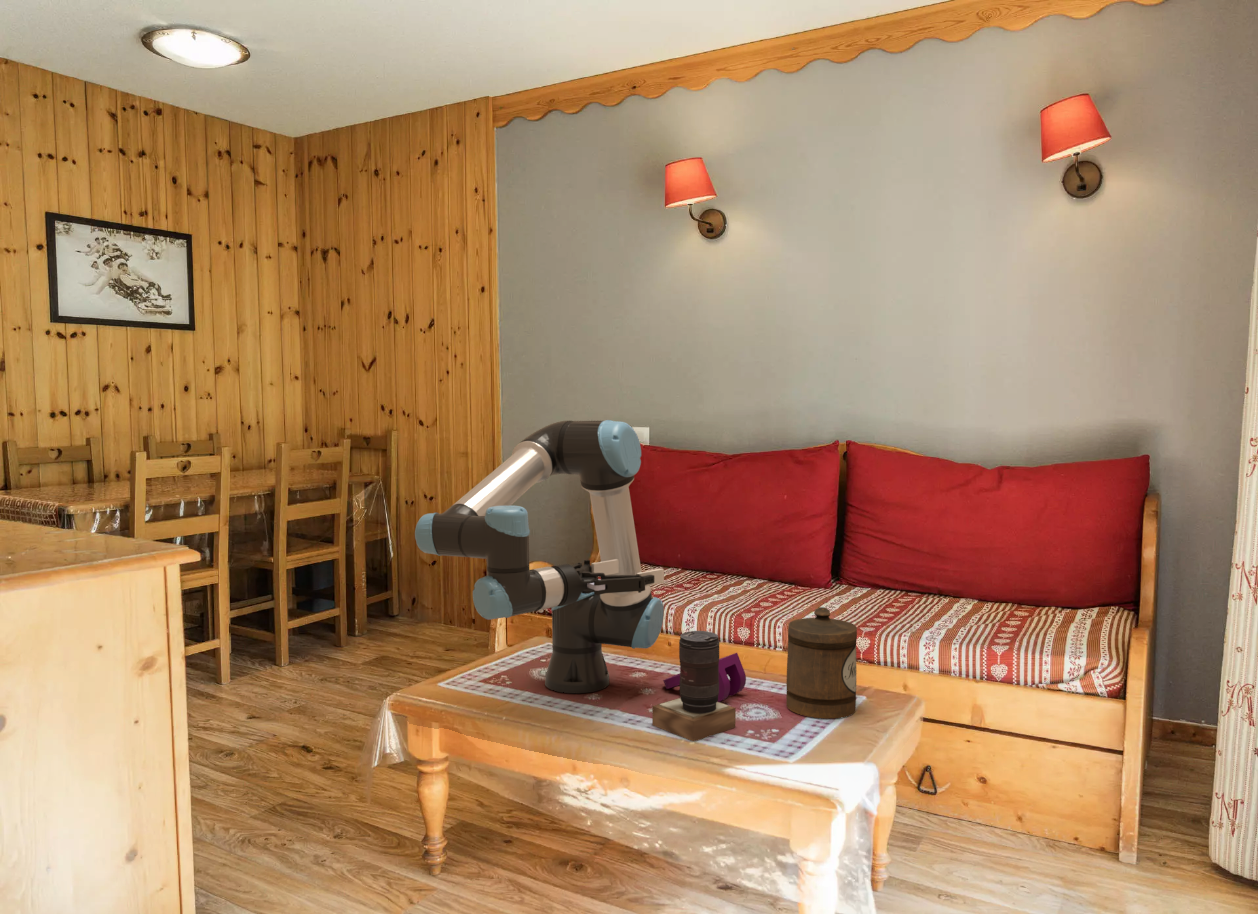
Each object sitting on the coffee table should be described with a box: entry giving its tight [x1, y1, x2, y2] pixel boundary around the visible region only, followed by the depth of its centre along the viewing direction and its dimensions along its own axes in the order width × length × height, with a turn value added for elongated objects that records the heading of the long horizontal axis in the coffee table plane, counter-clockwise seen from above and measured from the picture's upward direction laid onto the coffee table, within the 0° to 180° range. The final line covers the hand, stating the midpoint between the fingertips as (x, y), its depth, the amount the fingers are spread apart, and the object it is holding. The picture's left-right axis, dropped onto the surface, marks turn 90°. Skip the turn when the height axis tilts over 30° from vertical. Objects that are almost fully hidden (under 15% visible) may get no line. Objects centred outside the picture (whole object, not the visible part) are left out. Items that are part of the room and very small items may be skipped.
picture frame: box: [651, 697, 737, 742], centre depth 180 cm, size 12×12×4 cm
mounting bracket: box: [662, 652, 747, 703], centre depth 201 cm, size 9×8×18 cm
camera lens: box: [678, 630, 720, 713], centre depth 177 cm, size 8×8×15 cm
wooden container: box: [785, 606, 858, 720], centre depth 191 cm, size 15×15×22 cm
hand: (639, 570), depth 176 cm, fingers open, 13 cm apart
